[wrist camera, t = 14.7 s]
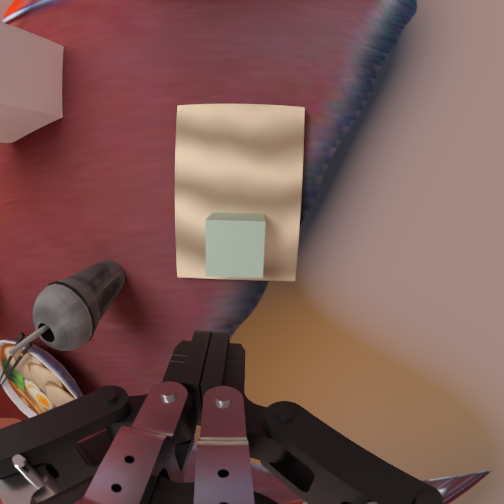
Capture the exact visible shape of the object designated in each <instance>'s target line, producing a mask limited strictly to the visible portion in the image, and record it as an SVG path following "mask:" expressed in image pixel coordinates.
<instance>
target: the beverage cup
mask: <svg viewBox="0 0 504 504" xmlns="http://www.w3.org/2000/svg"><path fill="white" fill-rule="evenodd" d="M124 283H125V274H124V271H123V269H122V268H121V266H120V265H118V264H117V263H116V262H114V261H111V260H106V261H103V262H100V263H97V264H95V265H93V266H91V267H89V268H87V269H85V270H83V271H81V272H79V273H76V274H74V275H72V276H70V277H68V278H66V279H63V280H59V281H56V282H52V283H49V284H48V285H47V286H46V287H45V288H44V289H43V291H42V292H41V293H40V294H39V295H38V297H37V299H36V302H35V305H34V308H33V322H34V326H35V329H36V331H35V332H34V333H32V334H31V335H30V336H28V337H27V338H25V339H24V340H23V341H21V342H20V343H19V344H17V345H16V346H14V347H13V348H12V349H10V350H9V354H10V355H11V356H12V355H14V354H15V353H16V352H18V351H19V350H20V349H22V348H23V347H24V346H26V345H27V344H28V343H30V342H31V341H32V340H34V339H35V338H37V337H38V336H39V337H40V338H41V339H42V341H43V342H45V343H46V344H47V345H48V346H50V347H52V348H54V349H57V350H60V351H70V350H75V349H77V348H79V347H80V346H82V345H84V344H85V343H87V342H88V341H90V340H91V338H92V337H93V335H94V331H95V330H96V328H97V325H98V323H99V320H100V319H101V317H102V316H103V315H104V313H105V312H106V310H107V309H108V308H109V306H110V305H111V303H112V302H113V301H114V299H115V298H116V296H117V295H118V294H119V292H120V291H121V289H122V287H123V286H124Z"/></svg>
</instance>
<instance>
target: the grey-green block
mask: <svg viewBox="0 0 504 504" xmlns="http://www.w3.org/2000/svg"><path fill="white" fill-rule="evenodd" d="M265 223H266V222H265V218H264V214H257V213H222V212H212V214H211V215H210V216H209V217H208V218H207V219H206V276H214V277H241V278H263V266H264V245H265Z"/></svg>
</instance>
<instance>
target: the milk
mask: <svg viewBox="0 0 504 504" xmlns="http://www.w3.org/2000/svg"><path fill="white" fill-rule="evenodd" d="M63 49H64V46H61V45H59V44H57V43H54V42H52V41H50V40H47V39H45V38H42V37H40V36H37V35H35V34H32V33H30V32H27V31H24V30H22V29H19V28H16V27H13V26H10V25H7V24H5V23H2V22H0V142H3V143H13V142H15V141H16V140H18V139H20V138H22V137H24V136H26V135H28V134H29V133H31V132H33V131H35V130H37V129H39V128H41V127H43V126H45V125H47V124H49V123H52V122H54V121H56V120H58V119H60V118H62V117H63V112H62V67H63Z"/></svg>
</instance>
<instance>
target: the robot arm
mask: <svg viewBox="0 0 504 504" xmlns="http://www.w3.org/2000/svg"><path fill="white" fill-rule="evenodd" d="M244 380H245V350H244V348H243V347H242V345H241V344H233V343H230V340H229V332H214V331H213V332H212V331H196V330H195V332H194V335H193V338H192V341H182V342H181V343H179V344H178V345H177V346H176V347H175V350H174V352H173V356H172V357H171V360H170V362H169V365H168V368H167V370H166V373H165V375H164V378H163V381H162V382H161V383H159V384H157V385H155V386H154V387H153V388H152V389H151V390H150V392H149V394H146V395H140V396H128V394H127V392H126V391H125V390H124V389H123V388H121V387H118V386H105V387H102V388H99V389H97V390H95V391H93V392H91V393H88V394H86V395H84V396H81V397H79V398H77V399H75V400H72V401H70V402H68V403H65V404H63V405H61V406H58V407H56V408H53V409H51V410H49V411H46V412H44V413H41V414H39V415H36V416H34V417H31V418H29V419H26V420H23V421H21V422H18V423H16V424H13V425H10V426H8V427H5V428H2V429H0V498H1V501H2V503H3V504H278V503H277V502H275V501H274V500H272V499H270V498H269V497H267V496H264V495H262V494H260V493H257V492H254V491H253V484H252V474H251V464H250V457H251V458H254V459H258V460H260V461H261V463H262V465H263V466H264V467H265V468H266V469H267V470H269V471H270V472H271V473H272V474H273V475H274V476H275V477H276V478H278V479H279V480H280V481H281V482H282V483H283V484H285V485H286V486H287V487H288V488H289V489H291V490H292V491H293V492H294V493H295V494H297V495H298V496H299V497H300V498H302V499H303V500H304V501H306V502H307V503H308V504H443V499H442V496H441V494H440V492H439V491H438V490H437V489H436V488H434V487H432V486H430V485H428V484H426V483H424V482H422V481H420V480H418V479H416V478H415V477H412V476H410V475H409V474H407V473H405V472H403V471H401V470H400V469H398V468H396V467H394V466H393V465H391V464H389V463H387V462H385V461H384V460H382V459H380V458H378V457H377V456H375V455H374V454H372V453H370V452H369V451H367V450H365V449H364V448H362V447H360V446H359V445H357V444H356V443H354V442H352V441H351V440H349V439H348V438H346V437H345V436H343V435H342V434H340V433H339V432H337V431H336V430H334V429H333V428H331V427H330V426H328V425H327V424H325V423H323V422H322V421H321V420H319V419H318V418H317V417H315V416H313V415H312V414H311V413H309V412H308V411H307V410H305V409H304V408H302V407H301V406H300V405H298V404H296V403H293V402H288V401H281V402H276V403H273V404H271V405H270V406H269V407H263V406H259V405H256V404H254V403H252V402H251V401H250V400H248V399H247V397H246V396H245V393H244ZM196 425H201V433H200V439H199V440H198V442H197V454H196V469H195V482H190V483H184V477H185V472H186V469H187V465H188V462H189V459H190V455H191V452H192V448H193V445H194V441H195V436H194V434H195V430H196ZM103 428H104V429H105V431H104V432H102V433H100V434H98V435H96V436H94V437H92V438H90V439H88V440H86V441H83V442H81V443H77V442H78V441H79V440H81V439H83V438H85V437H87V436H89V435H91V434H93V433H95V432H97V431H99V430H101V429H103ZM67 488H68V489H67ZM65 489H66V490H65ZM63 490H64V491H63ZM61 491H62V492H61Z"/></svg>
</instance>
